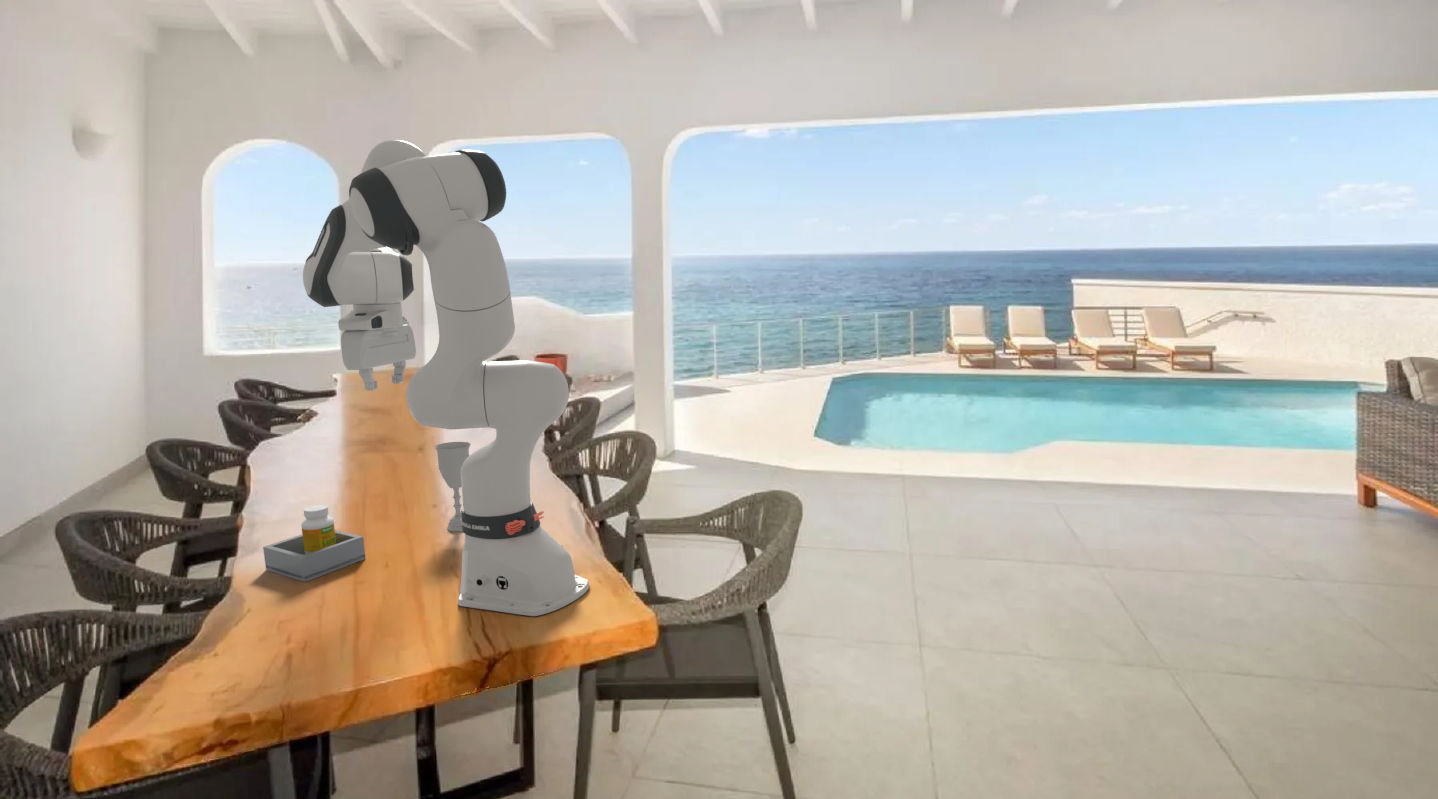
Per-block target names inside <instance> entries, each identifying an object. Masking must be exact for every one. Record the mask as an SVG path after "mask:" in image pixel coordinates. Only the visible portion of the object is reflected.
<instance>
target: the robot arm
mask: <svg viewBox="0 0 1438 799" xmlns="http://www.w3.org/2000/svg"><path fill="white" fill-rule="evenodd" d="M348 196H349V197H348V198H349V199H347V200H346V201H344V202H343V203H341V204H339V205H337V206H336V207H334V208H332V209H331V210H330V212H329V214H328V215H327V218H326V220H325V222H324V224H323V225H322V229H321V231H320V232H319V235H318V239H317V240H316V243H315V245H314V248H313V250H312V252H311V253H310V254H309V256H308V257H307V258H306V259H305V264H304V265H303V271H302V282H303V287H304V290H305V292H306V295H307V297H308V298H309V299H311V300H312V301H313V302H315V303H316V304H318V305H320V306H321V307H323V308H328V307H329V308H330V307H338V306H339V307H340V306H343V305H349V306H350V305H352V307H353V308H352V310H351V311H350V312H348V313H347V314H345V315H344V316H343V317H341V318H340V319H339V320H338V322H337V323H338V324H337V325H338V329H339V330H340V331H343V332H342V333H341V334H340V336H341V337H340V346H341V347H340V348H341V350H340V351H341V355H342V357H341V358H342V362H343V365H344V367H345V368H346V369H347V370H349V371H358V372H359V376H360V378H361V379H362V382H363V385H364V390H365V391H366V392H367V391H369V392H372V391H373V392H374V391H376V390H378V381H377V380H375V379H374V377H373V373H374V368H377V367H382V366H387V365H392V367H394V369H393V374H392V375H391V382H392V384H393V385H394V384H397V385H398V384H403V382H404V381H405V380H404V374H405V371H406V366H407V361H408V360H413V359H415V358H416V355H417V347H416V341H415V335H414V331H413V328H412V326H411V325H410V322H409V320H407V318H406V317H405V316H403V309H402V301H405V300H406V299H407V298H408V297H410V295H412V293H413V292H414V290H415V287H414V280H413V279H414V278H413V264H412V262H411V261H410V260H408V259H407V257H405V256H410V255H412V253H413V250H414V246H416V247H417V248H418V249H419V250H420V251H421V252H422V253H423V256H424V257H425V260H426V261H427V265H428V268H429V276H430V283H431V289H432V290H431V291H432V295H433V296H432V297H433V301H434V306H435V311H436V317H437V324H438V335H439V336H438V337H439V338H438V344H437V347H436V351H435V353H434V354H433V356H432V357H431V358H430V360H429V361H428V362H427V363H426V364H424V365H423V366H422V367H420V368H418V369H417V371H415V373H414V374H413V375H412V376H411V377H410V379H409V381H408V384H407V388H406V394H405V395H406V397H405V400H406V405H407V408H408V411H409V412H410V415H411V416H412V418H413V419H414V420H415V421H416V422H417V423H418V424H420V426H423V427H428V428H436V429H443V430H465V429H466V430H467V429H470V430H471V429H484V428H485V429H487V428H488V429H489V428H490V429H494V430H495V432H496V433H495V435H496V436H495V439H494V440H493V441H492V442H490V443H488V444H487V445H484V446H482V447H480V448H479V449H477V450H476V451H474V452H472V453H470V454H469V456H468V457H467V458H466V460H465V461H464V463H463V465H462V467H461V472H460V473H461V486H462V487H461V493H462V494H461V497H462V509H461V510H460V512H461V524H462V531H461V532H462V533H463V534H464V541H463V542H464V544H463V549H462V556H461V579H460V580H461V581H460V582H461V583H460V586H459V596H458V598H457V605H458V606H460V607H466V608H470V609H471V608H472V609H479V610H486V611H492V612H501V613H506V614H507V613H508V614H513V615H522V616H526V617H527V616H529V617H536V616H537V617H538V616H542V615H545V614H549V613H553V612H555V611H557V610H559V609H562V608H564V607H566V606H567V605H569V604H571V603H573V602H575V601H576V600H578V599H579V598H581V597H582V596H584V594H585V593H587V591H588V590H589V588H590V582H589V579H587V578H585V577H582V576H580V575H578V574H575V568H574V562H573V559H572V556H571V554H570V552H568V551H567V550H566V549H565V548H564V546H563V545H562V544H561V543H559V542H558V541H556V540H555V539H554V538H553V537H552V536H551V535H550V534H549V533H548V532H547V531H546V530H545V529H544V528H543V527H542V526H541V519H543V518H545V516H544V515H543V514H544V512H545V511H544V510H542V511H539V512H537V510H536V508H535V506H534V503H533V502H532V501H531V483H530V482H531V462H532V457H533V453H534V450H535V447H536V445H537V443H538V441H539V439H540V437H541V436H542V435H543V433H545V431H546V430H547V429H548V428H549V427H550V426H551V425H552V424H554V422H556V421H557V420H558V419H559V418H560V417H561V416H562V415H563V413H564V412H565V410H566V408H567V406H568V404H569V403H568V402H569V398H570V390H569V385H568V381H567V378H566V377H565V375H564V373H563V372H562V370H561V369H560V368H559V367H558V366H557V365H556V364H554V363H548V362H543V361H535V360H530V359H526V360H525V359H524V360H522V359H521V360H499V361H488V359H490V358H492V357H494V356H496V355H497V354H499V353H500V352H502V351H503V350H504V349H505V348H506V347H507V345H508V344H510V342H511V341H512V339H513V337H514V335H515V331H516V326H515V324H516V323H515V317H514V309H513V308H514V307H513V301H512V293H511V287H510V281H509V276H508V271H507V267H506V262H505V258H504V256H503V252H502V249H501V246H500V243H499V241H498V238H497V236H496V234H495V232H494V231H493V230H492V228H490V227H489V226H488V225H486V224H485V223H483V222H486V221H487V220H490V219H491V218H494V217H495V216H497V215H498V214H499V213H501V212H502V211H503V209H504V208H505V205H506V201H507V200H506V199H507V187H506V181H505V179H504V176H503V173H502V170H501V169H500V167H499V165H498V163H497V162H496V161H495V159H493V158H492V157H491V156H489V155H488V154H487V153H486V152H483V151H481V150H474V149H459V150H456V151H454V152H449V153H442V154H441V153H440V154H434V155H433V154H431V155H426V154H425V152H424V151H423V150H422V149H420V147H418V146H416V145H415V144H413V143H411V142H408V141H405V140H400V139H390V140H389V139H388V140H385V141H382V142H380V143H378V144H376V145H375V146H374V147H373V148H372V149H371V150H370V152H369V153H368V156H367V158H366V160H365V161H364V163H363V167H362V168H361V172H360V173H359V174H358V175H356V176H355V177H353V178H352V180H351V182H350V186H349V188H348ZM395 250H397V251H399V253H397V252H395ZM486 360H487V361H486ZM542 515H543V516H542Z"/></svg>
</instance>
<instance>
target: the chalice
mask: <svg viewBox="0 0 1438 799" xmlns="http://www.w3.org/2000/svg"><path fill="white" fill-rule="evenodd" d="M470 447H471V443H470V442H468V441H450V442H443V443H439V444H436V445H435V446H434V449H435V450H436V452H437V461H438V470H439V472H440V474H441V477H442V479H443V480H444V481H445V483H446V485H447V486H448V487H449V488H450V489H452V490H453V497H452V498H453V500H454V503H453V508H454V509H455V510H454V511H455V513H454V515H453V516H451V518H450V519H449V522H448V523H447V525H448V526H447V528H446V530H447V531H449V532H463V531H462V524H461V507H463V503H461V502H460V499H461V497H462V495H460V492H459V490H460V488H462V486H461V473H460V472H461V467H462V465H463V463H464V461H465V460H466V458H467V457H468V456H470V450H469V448H470Z"/></svg>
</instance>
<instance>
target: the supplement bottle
mask: <svg viewBox="0 0 1438 799" xmlns="http://www.w3.org/2000/svg"><path fill="white" fill-rule="evenodd" d="M303 516H304V518H305V519H304V520H303V521H302V522H301V535H303V543H304V552H305V555H306V554H309V553H312V552H315V551H318V550H320V549H323V548H326V547H329V546H332V545H335V544H336V537H335V530H336V529H335V522H334V518H333V517H332V516H329V506H328V505H324V504H317V505H316V504H315V505H311V506H308V507H305V508H304V509H303Z"/></svg>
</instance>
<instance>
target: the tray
mask: <svg viewBox="0 0 1438 799" xmlns="http://www.w3.org/2000/svg"><path fill="white" fill-rule="evenodd" d="M335 537H336V544H335V545H332V546H329V547H326V548H323V549H320V550H318V551H315V552H312V553H309V554H306V555H305V552H304V543H303V535H302V534H299V535H295V536H293V537H289V538H287V539H284V540H281V541H278V542H274V543H271V544H268V545H265V546H263V547H262V550H263V557H264V563H265V570H266V571H268V572H272V573H275V574H277V575H281V576H284V577H288V578H292V579H295V580H298V581H300V582H304V583H306V582H309V581H311V580H314V579H316V578H320V577H322V576H325V575H327V574H330V573H332V572H335V571H338V570H340V569H343V568H345V567H348V565H349V566H351V565H354V564H357V563H358V561H359V562H362V561H364V560H366V551H365V550H366V548H365V542H364V536H362V535H358V534H354V533H349V532H345V531H342V530H338V529H335ZM356 562H357V563H356Z"/></svg>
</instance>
